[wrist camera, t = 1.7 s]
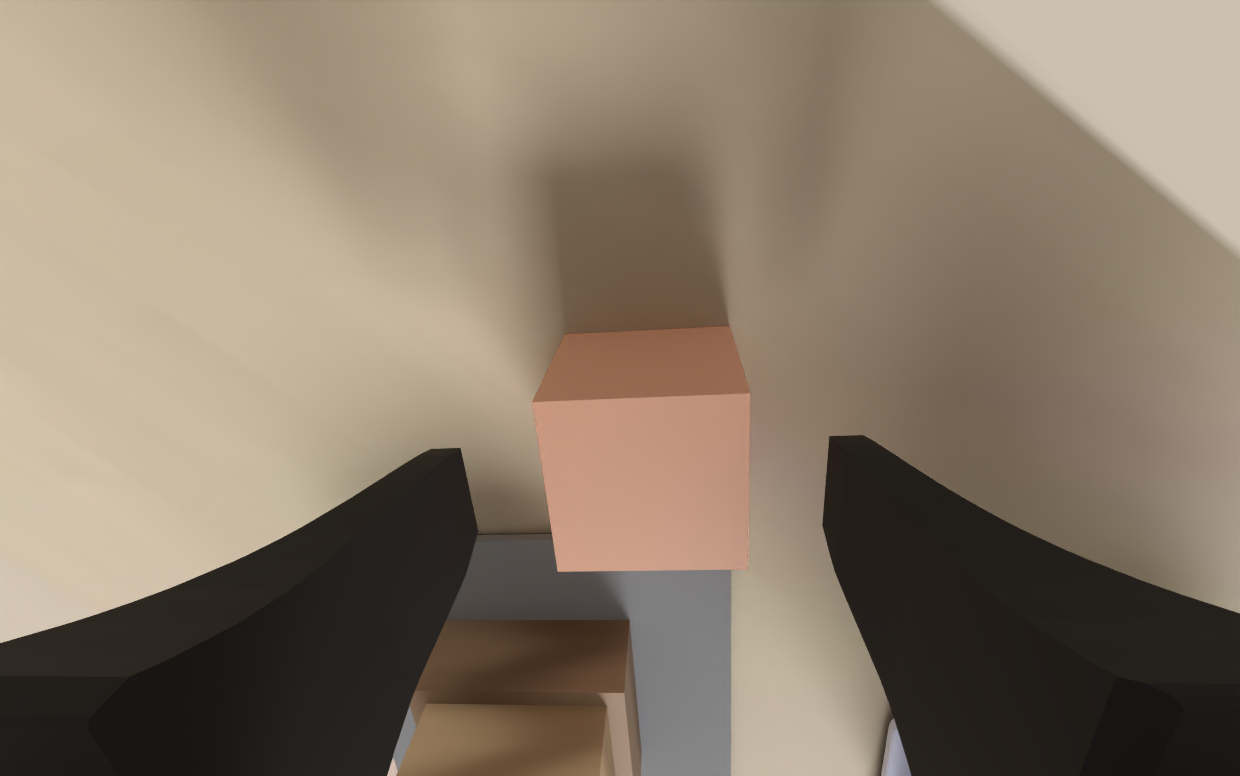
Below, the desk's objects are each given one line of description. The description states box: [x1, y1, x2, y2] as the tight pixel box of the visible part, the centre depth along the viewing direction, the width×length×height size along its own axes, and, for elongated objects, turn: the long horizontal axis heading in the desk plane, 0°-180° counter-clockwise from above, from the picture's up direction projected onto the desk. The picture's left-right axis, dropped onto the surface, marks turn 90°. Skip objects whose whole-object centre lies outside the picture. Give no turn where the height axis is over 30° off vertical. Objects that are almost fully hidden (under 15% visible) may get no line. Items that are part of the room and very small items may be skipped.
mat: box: [393, 534, 731, 776], centre depth 19 cm, size 12×12×1 cm
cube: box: [532, 326, 750, 572], centre depth 13 cm, size 4×4×4 cm
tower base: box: [410, 620, 642, 776], centre depth 18 cm, size 6×6×2 cm
